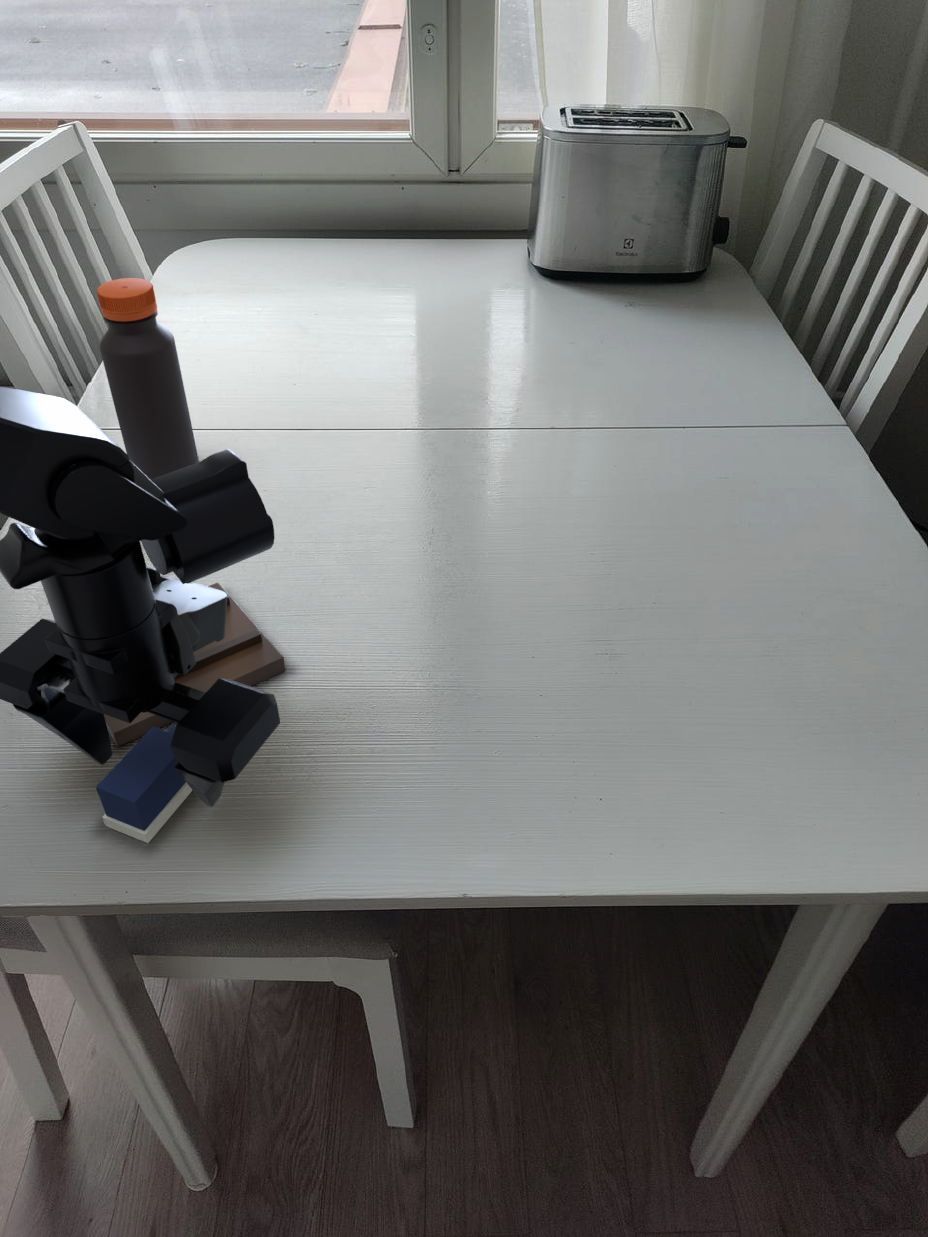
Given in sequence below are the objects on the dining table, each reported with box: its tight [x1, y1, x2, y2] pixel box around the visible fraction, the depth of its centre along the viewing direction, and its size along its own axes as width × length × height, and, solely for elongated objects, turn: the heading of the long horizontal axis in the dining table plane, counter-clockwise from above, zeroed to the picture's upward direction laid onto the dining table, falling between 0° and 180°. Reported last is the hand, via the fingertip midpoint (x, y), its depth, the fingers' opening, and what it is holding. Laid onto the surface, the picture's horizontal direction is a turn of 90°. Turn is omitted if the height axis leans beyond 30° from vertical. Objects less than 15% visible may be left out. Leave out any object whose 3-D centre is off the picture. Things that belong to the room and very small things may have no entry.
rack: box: [104, 581, 287, 747], centre depth 77 cm, size 14×12×2 cm
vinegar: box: [96, 277, 200, 480], centre depth 93 cm, size 7×7×20 cm
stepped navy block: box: [95, 725, 193, 844], centre depth 66 cm, size 8×4×4 cm, turn 157°
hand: (158, 780), depth 67 cm, fingers open, 9 cm apart
